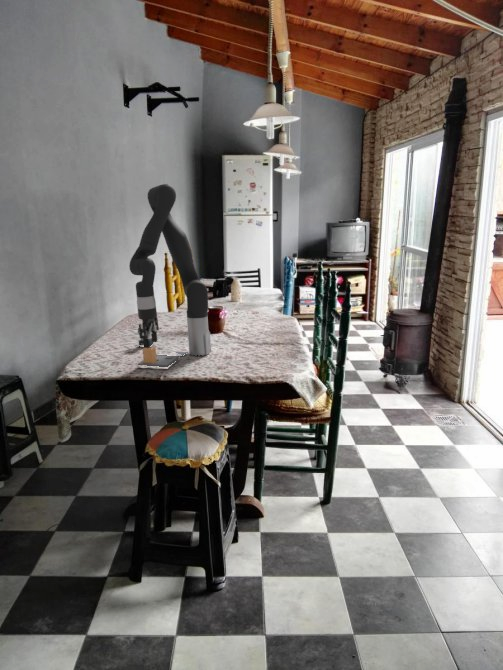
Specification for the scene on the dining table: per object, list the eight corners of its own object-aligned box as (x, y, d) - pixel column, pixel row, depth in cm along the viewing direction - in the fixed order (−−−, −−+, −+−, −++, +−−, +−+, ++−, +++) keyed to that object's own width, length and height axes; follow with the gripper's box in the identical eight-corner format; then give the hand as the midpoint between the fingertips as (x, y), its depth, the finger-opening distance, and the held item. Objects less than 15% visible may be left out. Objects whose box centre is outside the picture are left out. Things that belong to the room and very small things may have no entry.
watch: (137, 348, 245) (135, 326, 243) (143, 344, 253) (141, 322, 250) (148, 348, 244) (146, 326, 241) (154, 344, 252) (152, 322, 249)
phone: (162, 353, 239) (161, 350, 238) (188, 354, 235) (188, 351, 235) (156, 356, 233) (156, 354, 233) (183, 358, 230) (183, 355, 229)
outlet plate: (178, 360, 224) (178, 355, 224) (167, 369, 212) (166, 364, 212) (151, 359, 228) (150, 354, 227) (138, 368, 215) (137, 363, 215)
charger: (156, 364, 219) (155, 346, 217) (152, 367, 216) (151, 348, 214) (148, 364, 220) (146, 345, 218) (144, 367, 217) (142, 348, 215)
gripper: (148, 310, 204) (152, 349, 208) (161, 303, 217) (165, 340, 221) (130, 310, 205) (135, 349, 209) (145, 303, 219) (149, 340, 223)
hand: (150, 344), depth 215 cm, fingers open, 8 cm apart
